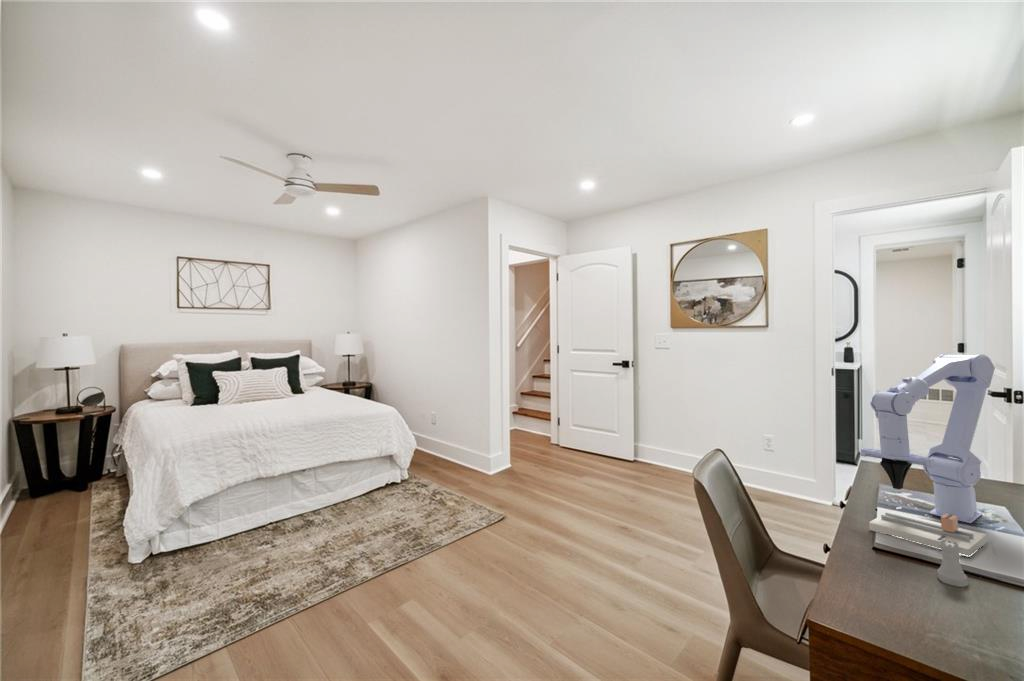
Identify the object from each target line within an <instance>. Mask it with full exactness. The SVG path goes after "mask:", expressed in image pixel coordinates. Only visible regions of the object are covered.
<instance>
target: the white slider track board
mask: <svg viewBox="0 0 1024 681" xmlns="http://www.w3.org/2000/svg"><path fill="white" fill-rule="evenodd" d="M868 523H869V525H868V526H869V531H873V532H875V533H879V532H882V533H885V534H884V535H886V534H890V535H894V536H898V537H902V538H904V539H908V540H911V541H915V542H919V543H922V544H926V545H930V546H934V547H937V548H940V547H939V544H940V543H941V541H942V540H946V542H948V540H951V543H953V542H956V543H957V544H958V546H959V547H960V548H961V551H960V552H959V553H961V554H965V555H968V556H969V555H971V554H972V553H974V552H975V551H976V550H978V549H979V548H980V549H982V548H983V547H984V546H985V545H986V544H987V543H988V541H987V534H986V533H982V532H978V531H975V530H974V531H973V530H970V529H967V528H962V527H958V530H956V531H955V532H954V533H953V532H949V531H945V530H942V527H941V522H938V521H932V520H929V519H925V518H921V517H917V516H913V515H909V514H905V513H901V512H897V511H891V510H888V511H886V512H884V513H883V514H881V515H879V516H878V517H876V518H874V519H872V520H870V521H869V522H868ZM882 533H881V534H882ZM982 546H983V547H982ZM981 547H982V548H981ZM980 549H979V550H980ZM979 550H978V551H979Z"/></svg>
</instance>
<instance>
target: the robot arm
mask: <svg viewBox="0 0 1024 681" xmlns="http://www.w3.org/2000/svg"><path fill="white" fill-rule="evenodd" d="M995 370H996V367H995V365H994V364H993V362H992V359H990V357H989V356H987V355H986V354H983V353H982V354H948V353H942V354H940V355H938V356H937V357H935V358H933V360H932V364H931V365H930V366H929V367H927V369H925V370H924V371H923V372H921V373H920V374H919V375H918V376H917V377H916V376H909V377H907V376H905V377H903V378H902V380H901V381H900V382H898V383H896V384H895V385H894V386H891V387H890V388H889V389H888V390H886V391H878V392H876V393H875V394H874V395H873V396H872V398H871V401H870V406H871V408H872V410H873V411H874V414H875V417H876V419H877V421H878V433H879V447H880V449H875V448H866V447H863V448H861V449H860V456H861V457H866V458H869V457H870V458H875V459H876V458H877V459H881V461H879V463H880V466H881V467H882V468H883V470H884V471H885V472H886V474H887V477H888V478H889V480H890V482H891V485H892V489H896V490H898V491H899V490H902V489H903V488H904V484H905V483H904V482H905V479H906V476H907V474H908V471H909V470H910V468H911V467H912V466H913V465H919V466H922V468H923V470H924V472H925V474H926V475H928V476H929V479H930V480H932V482H933V484H932V485H933V495H934V497H933V498H934V504H935V505H934V506H935V507H934V508H933V509H932V510H930V511H929V514H930V515H933V516H936V517H937V516H938V517H941V516H943V515H944V514H953V515H954V516H957V519H958V522H962V523H967V524H972V523H973V522H974V521H975V520H977V519H978V518H980V517H981V516H982V515H983V512H981V511H978V509H977V498H976V490H975V488H974V486H976V484H977V483H978V482H979V481H980V479H981V477H982V476H981V475H982V472H981V463H982V460H980V459H979V457H977V455H975V454H974V453H973V452H972V451H971V447H972V444H973V440H974V437H975V433H976V429H977V427H978V422H979V419H980V415H981V411H982V408H983V404H984V400H985V397H986V393H987V389H989V388H990V387H991V383H992V380H993V376H994V372H995ZM942 381H945V382H946V383H947V384H948V385H950V386H951V387H954V389H955V390H956V392H955V396H954V400H953V403H952V407H951V411H950V414H949V418H948V421H947V425H946V428H945V431H944V432H945V433H944V436H943V439H942V442H941V443H940V444H937V445H935V446H933V447H931V448H929V452H928V453H927V455H926V456H922V455H919V454H913V453H911V452H910V440H909V429H908V427H909V426H908V418H907V416H908V414H910V413H911V412H912V410H913V406H914V405H915V404H916V403H917V402H918V401H919V400H921V399H923V398H924V397H925V396H927V395H928V394H929V393H930V387H932V386H934V385H936V384H938V383H940V382H942Z"/></svg>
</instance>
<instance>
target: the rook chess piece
mask: <svg viewBox="0 0 1024 681" xmlns="http://www.w3.org/2000/svg"><path fill="white" fill-rule="evenodd" d="M939 547H940V548H941V549H942V551H940V554H941V556H942V559H941V564H940V565H939V568H938V569H937V578H938V579H939V580H940V581H941V582H942V583H944V584H946V585H949V586H952V587H958V588H965V587H968V585H969V581H968V575H966V574H965V572H964V570H963V569H962V568H963V567H961V566H962V565H961V562H960V558H961V556H960V555H959V552H960V551H961V548H960V547H959V546H958V544H957V543H956V542H953V543H951V540H948V542H946V540H942V541H941V543H940V544H939Z"/></svg>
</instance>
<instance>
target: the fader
mask: <svg viewBox="0 0 1024 681" xmlns="http://www.w3.org/2000/svg"><path fill="white" fill-rule="evenodd" d="M940 523H941V527H942V530H945V531H949V532H953V533H954V532H955V531H956V530H958V528H959V521H958V519H957V516H954V515H953V514H944V515H943V516H940Z"/></svg>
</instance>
